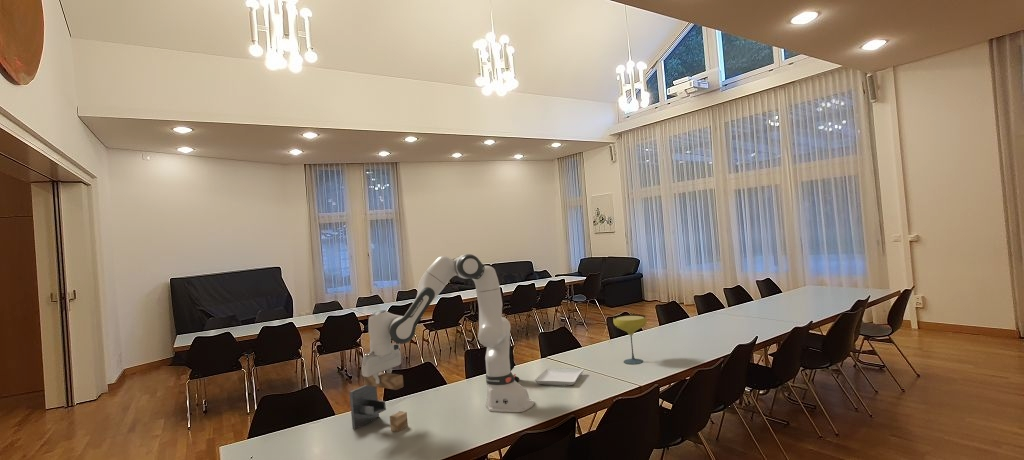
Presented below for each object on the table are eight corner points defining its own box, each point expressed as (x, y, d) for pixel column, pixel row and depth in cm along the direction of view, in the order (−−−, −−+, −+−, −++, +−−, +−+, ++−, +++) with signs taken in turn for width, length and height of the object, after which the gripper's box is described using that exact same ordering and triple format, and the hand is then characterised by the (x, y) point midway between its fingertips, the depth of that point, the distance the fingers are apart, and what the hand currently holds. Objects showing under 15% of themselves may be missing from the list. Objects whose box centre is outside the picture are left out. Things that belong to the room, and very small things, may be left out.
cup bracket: (392, 418, 214) (389, 383, 214) (368, 431, 202) (365, 393, 202) (376, 416, 219) (373, 381, 219) (352, 428, 207) (349, 391, 207)
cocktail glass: (654, 364, 260) (649, 318, 260) (620, 367, 260) (616, 321, 261) (645, 356, 278) (641, 313, 278) (614, 358, 278) (610, 315, 279)
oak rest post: (407, 426, 204) (406, 411, 204) (397, 431, 199) (396, 417, 199) (400, 424, 206) (399, 410, 206) (390, 430, 201) (389, 416, 201)
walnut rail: (403, 386, 203) (402, 375, 203) (396, 389, 199) (395, 377, 199) (371, 382, 213) (370, 370, 213) (364, 384, 210) (363, 373, 210)
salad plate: (534, 386, 242) (533, 379, 242) (546, 374, 262) (546, 367, 262) (575, 388, 234) (574, 381, 234) (585, 375, 254) (584, 368, 254)
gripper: (367, 355, 196) (370, 389, 196) (402, 343, 213) (405, 374, 213) (356, 354, 199) (359, 388, 199) (392, 343, 217) (394, 373, 217)
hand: (383, 381), depth 206 cm, fingers closed on walnut rail, 4 cm apart
